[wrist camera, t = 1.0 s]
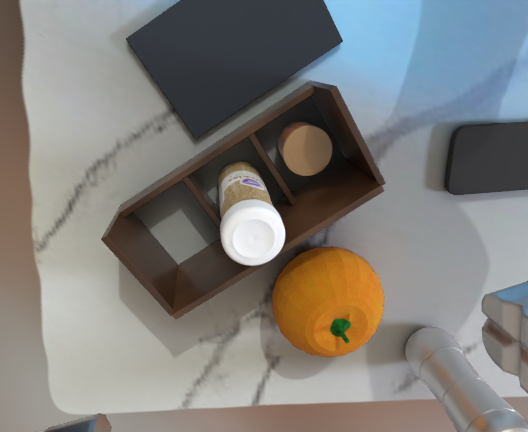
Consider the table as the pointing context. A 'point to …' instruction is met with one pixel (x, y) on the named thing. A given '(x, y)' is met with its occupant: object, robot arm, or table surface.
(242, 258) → the sprinkles bottle
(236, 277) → the spice rack
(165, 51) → the rubber mat
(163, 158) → the table surface
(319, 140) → the spice tin
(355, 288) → the fruit
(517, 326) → the robot arm
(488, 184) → the phone
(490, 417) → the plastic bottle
